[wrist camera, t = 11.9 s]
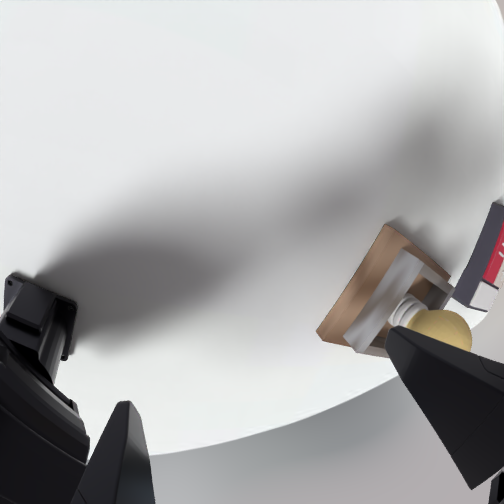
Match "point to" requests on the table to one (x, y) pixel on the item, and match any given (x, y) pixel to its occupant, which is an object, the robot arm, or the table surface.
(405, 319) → the light bulb
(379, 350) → the square frame
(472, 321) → the table surface
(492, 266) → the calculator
